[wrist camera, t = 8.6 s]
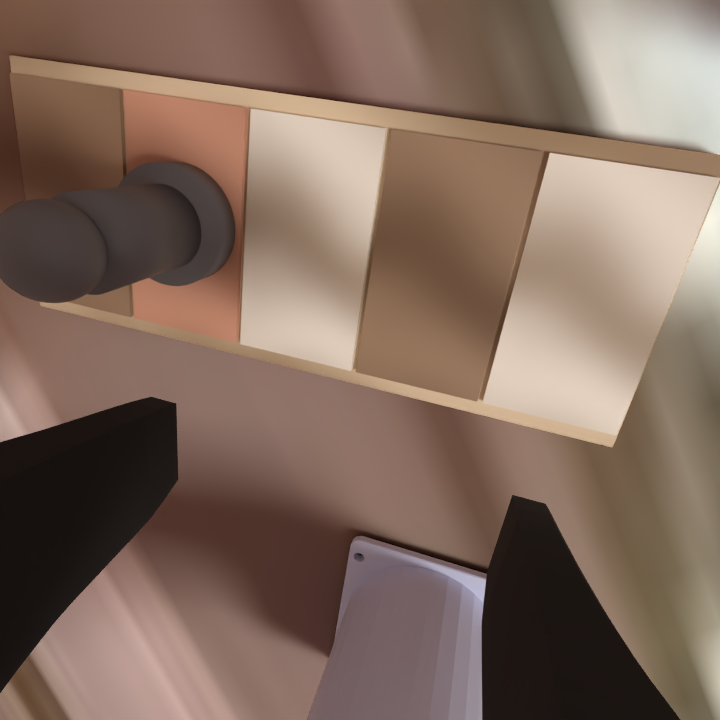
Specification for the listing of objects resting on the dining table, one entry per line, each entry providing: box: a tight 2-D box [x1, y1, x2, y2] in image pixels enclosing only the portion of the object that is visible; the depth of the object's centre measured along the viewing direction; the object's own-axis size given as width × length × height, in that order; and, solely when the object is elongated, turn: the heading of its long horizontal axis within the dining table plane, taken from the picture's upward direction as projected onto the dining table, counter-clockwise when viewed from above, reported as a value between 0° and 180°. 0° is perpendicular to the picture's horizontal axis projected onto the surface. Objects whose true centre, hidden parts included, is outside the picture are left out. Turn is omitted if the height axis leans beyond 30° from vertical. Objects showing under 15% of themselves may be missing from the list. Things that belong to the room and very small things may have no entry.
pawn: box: [0, 162, 235, 303], centre depth 16 cm, size 4×4×8 cm
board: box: [9, 55, 720, 447], centre depth 19 cm, size 10×25×1 cm, turn 83°
